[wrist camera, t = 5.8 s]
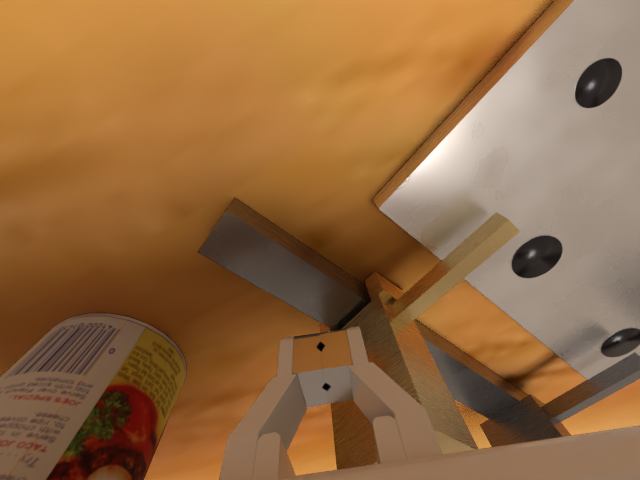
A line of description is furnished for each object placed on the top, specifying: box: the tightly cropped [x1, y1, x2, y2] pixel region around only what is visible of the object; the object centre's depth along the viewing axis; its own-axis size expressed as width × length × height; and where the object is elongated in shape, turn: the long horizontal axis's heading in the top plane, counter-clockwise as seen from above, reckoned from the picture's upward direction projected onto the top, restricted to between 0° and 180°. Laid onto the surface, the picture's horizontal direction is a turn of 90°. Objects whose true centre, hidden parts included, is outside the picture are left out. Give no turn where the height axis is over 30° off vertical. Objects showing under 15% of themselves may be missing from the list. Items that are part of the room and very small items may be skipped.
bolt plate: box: [372, 0, 640, 380], centre depth 14 cm, size 12×22×1 cm, turn 51°
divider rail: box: [198, 198, 640, 447], centre depth 13 cm, size 10×26×8 cm, turn 51°
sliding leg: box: [320, 212, 520, 470], centre depth 11 cm, size 10×2×8 cm, turn 141°
